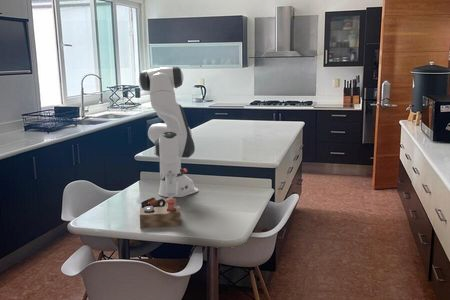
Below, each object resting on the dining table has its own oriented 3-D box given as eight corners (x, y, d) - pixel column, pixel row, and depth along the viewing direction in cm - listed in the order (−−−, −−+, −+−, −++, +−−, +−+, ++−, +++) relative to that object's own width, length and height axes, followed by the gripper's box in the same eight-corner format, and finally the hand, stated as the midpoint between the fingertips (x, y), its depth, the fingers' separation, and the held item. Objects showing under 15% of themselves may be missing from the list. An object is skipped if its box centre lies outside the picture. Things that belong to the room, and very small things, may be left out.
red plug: (176, 211, 214) (175, 197, 212) (176, 214, 209) (176, 200, 208) (166, 212, 213) (165, 197, 212) (166, 215, 209) (165, 200, 207)
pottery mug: (146, 217, 220) (140, 201, 221) (144, 220, 229) (138, 205, 230) (170, 208, 224) (163, 192, 225) (167, 211, 233) (160, 196, 234)
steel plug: (154, 220, 213) (154, 206, 212) (154, 223, 209) (154, 209, 207) (144, 220, 212) (143, 206, 211) (144, 224, 208) (143, 209, 207)
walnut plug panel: (179, 218, 218) (179, 205, 216) (181, 225, 208) (180, 212, 207) (140, 220, 215) (140, 207, 214) (140, 227, 205) (139, 215, 204)
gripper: (177, 174, 198) (178, 205, 200) (176, 163, 217) (176, 192, 220) (162, 174, 197) (163, 205, 199) (162, 164, 217) (163, 192, 219)
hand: (170, 198), depth 210 cm, fingers closed
